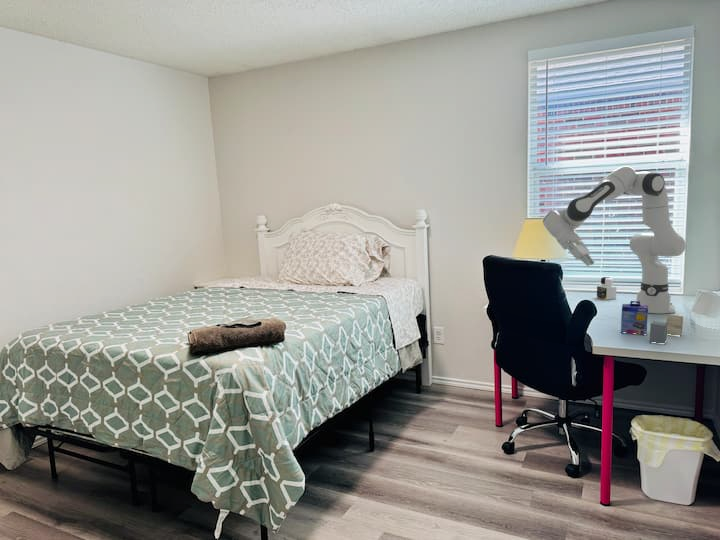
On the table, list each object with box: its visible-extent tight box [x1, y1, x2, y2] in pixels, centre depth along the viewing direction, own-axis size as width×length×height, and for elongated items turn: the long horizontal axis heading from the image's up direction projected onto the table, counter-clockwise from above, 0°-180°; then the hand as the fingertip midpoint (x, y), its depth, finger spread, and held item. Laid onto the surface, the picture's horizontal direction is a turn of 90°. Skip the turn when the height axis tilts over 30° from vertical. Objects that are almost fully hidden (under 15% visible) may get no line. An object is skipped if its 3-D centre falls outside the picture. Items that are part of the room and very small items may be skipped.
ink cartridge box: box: [620, 300, 649, 335], centre depth 215 cm, size 10×6×14 cm, turn 62°
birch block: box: [666, 314, 684, 336], centre depth 210 cm, size 5×5×8 cm
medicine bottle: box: [596, 276, 617, 301], centre depth 282 cm, size 7×7×12 cm
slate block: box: [649, 320, 668, 344], centre depth 201 cm, size 5×5×8 cm
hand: (591, 264), depth 223 cm, fingers open, 8 cm apart
